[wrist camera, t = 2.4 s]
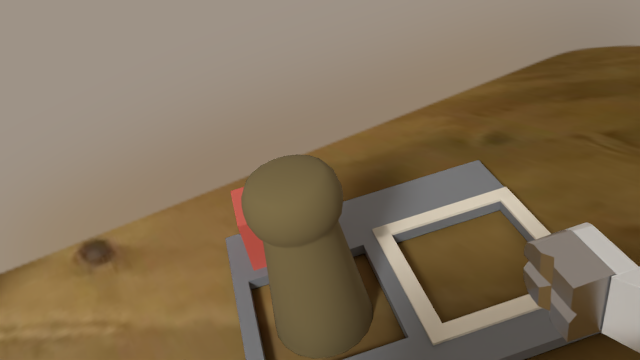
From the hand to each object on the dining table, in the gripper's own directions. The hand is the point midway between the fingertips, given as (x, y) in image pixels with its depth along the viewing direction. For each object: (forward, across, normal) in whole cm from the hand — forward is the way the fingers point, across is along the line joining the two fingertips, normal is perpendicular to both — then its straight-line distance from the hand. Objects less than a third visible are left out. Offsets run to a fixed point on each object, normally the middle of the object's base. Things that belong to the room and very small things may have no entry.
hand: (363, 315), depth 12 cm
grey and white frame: (+15, -5, +16) cm, 22 cm away
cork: (+14, 0, +16) cm, 21 cm away
